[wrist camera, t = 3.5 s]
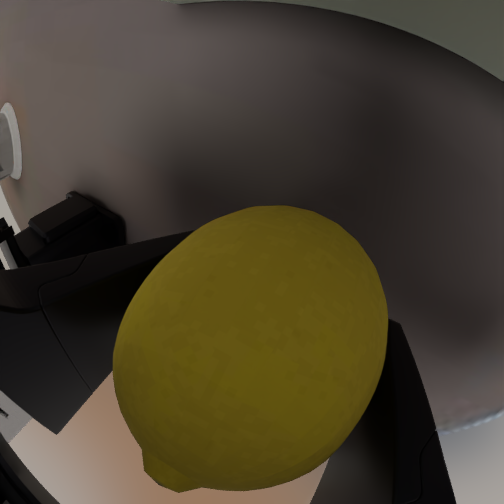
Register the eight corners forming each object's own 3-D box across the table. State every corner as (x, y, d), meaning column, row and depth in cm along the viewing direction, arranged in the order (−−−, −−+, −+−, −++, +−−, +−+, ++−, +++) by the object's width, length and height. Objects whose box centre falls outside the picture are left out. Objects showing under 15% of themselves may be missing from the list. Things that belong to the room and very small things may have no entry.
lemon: (424, 216, 7) (408, 563, 1) (350, 335, 10) (266, 534, 4) (255, 144, 8) (-20, 294, 2) (228, 276, 12) (88, 427, 5)
